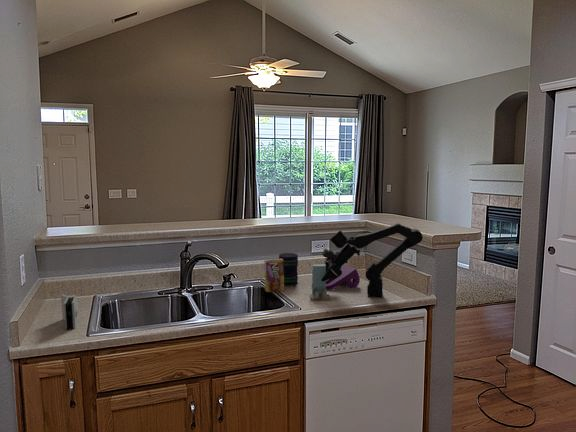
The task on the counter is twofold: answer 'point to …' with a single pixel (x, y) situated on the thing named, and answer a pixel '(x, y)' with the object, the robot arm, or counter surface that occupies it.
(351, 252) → the robot arm
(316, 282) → the door
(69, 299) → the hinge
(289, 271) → the storage jar
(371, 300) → the counter surface
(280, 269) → the candy box
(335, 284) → the mounting bracket
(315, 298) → the brown base with posts
